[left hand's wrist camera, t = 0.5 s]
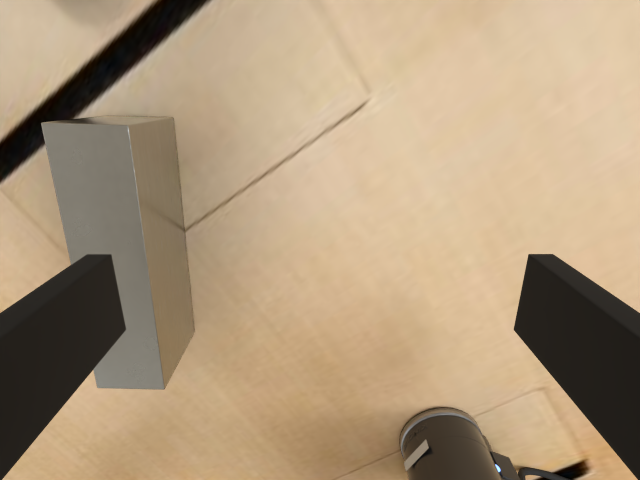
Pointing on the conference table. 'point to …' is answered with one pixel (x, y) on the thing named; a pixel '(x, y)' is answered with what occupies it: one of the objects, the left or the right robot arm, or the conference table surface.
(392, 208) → the conference table surface
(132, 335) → the box
